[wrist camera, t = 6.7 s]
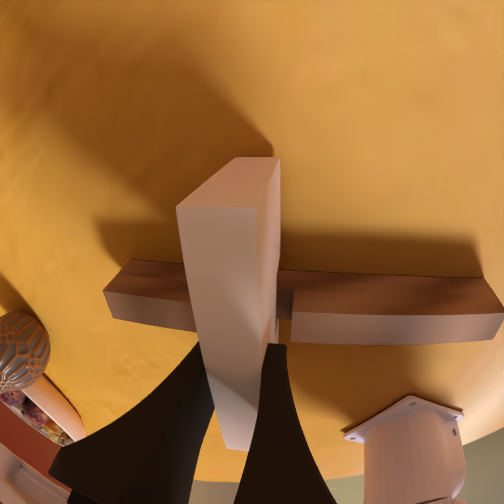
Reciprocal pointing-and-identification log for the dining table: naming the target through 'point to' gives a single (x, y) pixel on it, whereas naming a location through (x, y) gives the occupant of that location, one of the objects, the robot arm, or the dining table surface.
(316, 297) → the walnut rail
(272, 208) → the notched white slab
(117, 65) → the dining table surface
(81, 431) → the bowl
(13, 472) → the robot arm
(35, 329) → the vase
